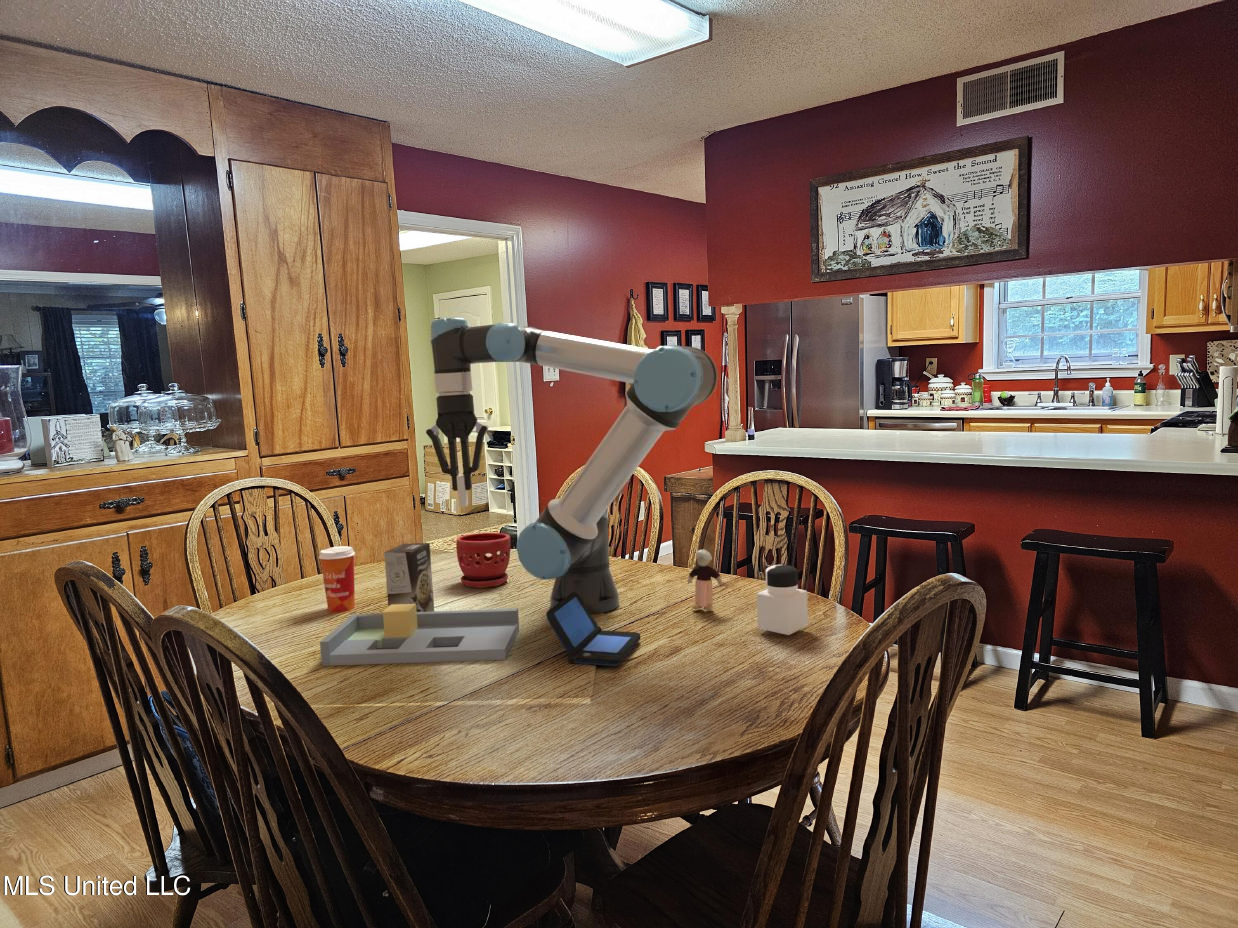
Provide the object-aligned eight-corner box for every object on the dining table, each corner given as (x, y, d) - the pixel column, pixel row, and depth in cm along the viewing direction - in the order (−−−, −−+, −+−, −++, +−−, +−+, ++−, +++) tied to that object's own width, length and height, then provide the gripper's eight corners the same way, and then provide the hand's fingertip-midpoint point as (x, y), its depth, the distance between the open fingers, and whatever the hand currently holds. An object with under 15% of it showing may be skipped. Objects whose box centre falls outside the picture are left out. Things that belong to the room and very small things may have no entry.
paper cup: (316, 614, 178) (310, 552, 177) (340, 604, 185) (334, 545, 184) (344, 616, 175) (338, 554, 174) (367, 606, 182) (362, 546, 181)
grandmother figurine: (686, 610, 169) (683, 551, 167) (688, 605, 173) (686, 547, 171) (722, 611, 167) (720, 551, 166) (724, 605, 171) (722, 547, 169)
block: (392, 629, 159) (417, 628, 158) (384, 637, 154) (410, 636, 153) (390, 604, 158) (415, 603, 158) (382, 612, 153) (408, 611, 153)
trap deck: (519, 630, 161) (518, 608, 160) (505, 659, 144) (503, 635, 144) (354, 635, 162) (352, 614, 161) (322, 665, 145) (319, 641, 145)
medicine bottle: (808, 625, 155) (807, 565, 154) (789, 635, 150) (787, 573, 149) (776, 619, 160) (775, 560, 159) (756, 628, 155) (755, 568, 154)
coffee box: (417, 628, 165) (411, 551, 163) (388, 627, 166) (382, 551, 164) (436, 615, 174) (430, 542, 172) (408, 614, 175) (403, 542, 173)
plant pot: (508, 589, 192) (505, 540, 190) (453, 591, 192) (450, 542, 191) (516, 575, 205) (513, 529, 203) (465, 577, 205) (461, 531, 204)
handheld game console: (618, 668, 138) (615, 616, 137) (546, 663, 142) (543, 613, 141) (642, 638, 153) (640, 591, 152) (576, 634, 157) (574, 588, 156)
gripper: (488, 391, 170) (496, 501, 173) (426, 395, 170) (436, 504, 173) (483, 392, 163) (492, 506, 166) (418, 396, 163) (429, 510, 165)
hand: (463, 505), depth 169 cm, fingers closed
